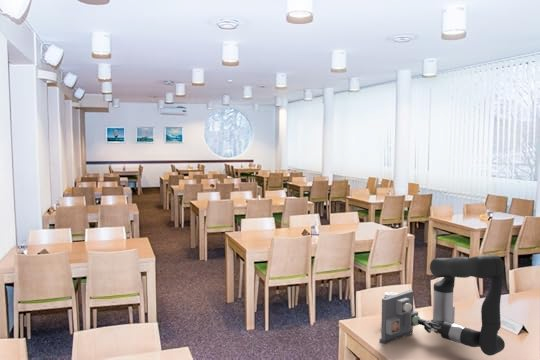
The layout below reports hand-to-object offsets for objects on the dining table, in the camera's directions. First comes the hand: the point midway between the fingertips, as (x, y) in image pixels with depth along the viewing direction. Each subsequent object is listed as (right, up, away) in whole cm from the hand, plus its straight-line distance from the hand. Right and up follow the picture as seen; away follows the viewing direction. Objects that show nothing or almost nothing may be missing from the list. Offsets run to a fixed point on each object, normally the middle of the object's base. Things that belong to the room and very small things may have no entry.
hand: (419, 321), depth 221 cm
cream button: (-7, +5, -3) cm, 9 cm away
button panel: (-9, -8, 0) cm, 12 cm away
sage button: (-1, -2, +2) cm, 3 cm away
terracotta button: (-13, -2, -6) cm, 15 cm away
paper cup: (-7, -7, +23) cm, 25 cm away
